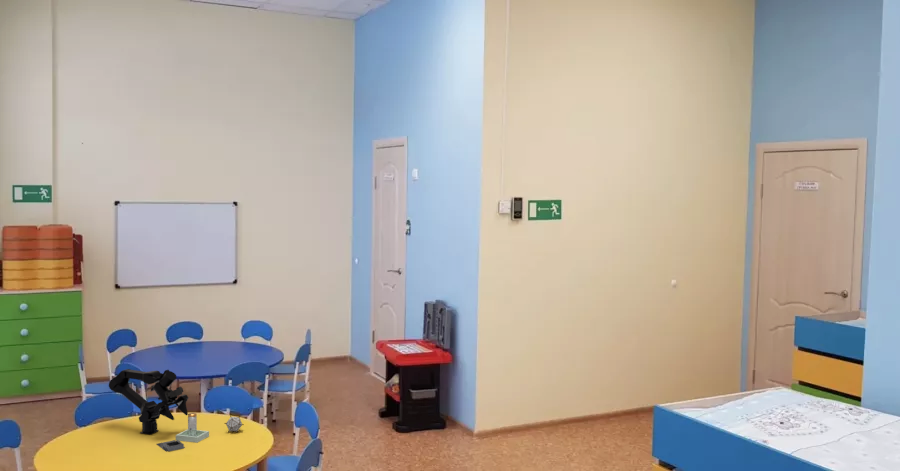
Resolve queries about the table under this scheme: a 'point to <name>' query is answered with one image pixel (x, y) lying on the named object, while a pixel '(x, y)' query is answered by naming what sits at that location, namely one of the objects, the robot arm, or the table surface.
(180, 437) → the tray
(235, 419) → the game die
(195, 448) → the table surface
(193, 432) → the pin
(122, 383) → the robot arm
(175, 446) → the grey slab
